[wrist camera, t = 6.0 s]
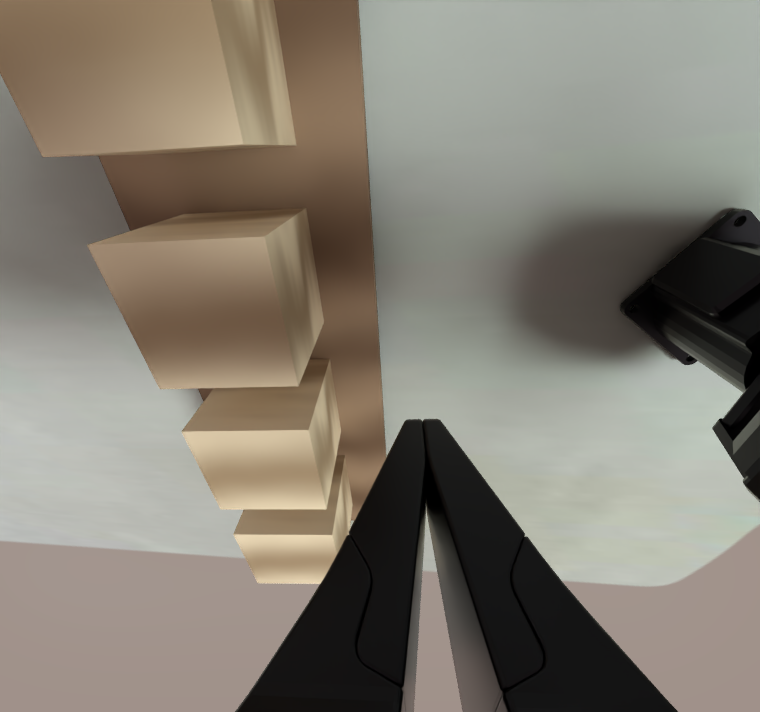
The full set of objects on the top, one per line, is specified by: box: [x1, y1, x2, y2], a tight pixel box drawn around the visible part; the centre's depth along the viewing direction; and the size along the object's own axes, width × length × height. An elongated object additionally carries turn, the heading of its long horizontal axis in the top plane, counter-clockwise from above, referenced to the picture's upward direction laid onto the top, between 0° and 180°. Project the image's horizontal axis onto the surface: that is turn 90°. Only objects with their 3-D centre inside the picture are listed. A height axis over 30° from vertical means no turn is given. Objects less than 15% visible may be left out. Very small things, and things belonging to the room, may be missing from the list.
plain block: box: [182, 359, 341, 509], centre depth 19 cm, size 6×6×6 cm
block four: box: [233, 455, 353, 584], centre depth 24 cm, size 6×6×6 cm
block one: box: [0, 0, 296, 157], centre depth 10 cm, size 6×6×6 cm
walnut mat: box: [99, 0, 386, 520], centre depth 20 cm, size 36×12×1 cm, turn 3°
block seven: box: [87, 208, 324, 389], centre depth 15 cm, size 6×6×6 cm
